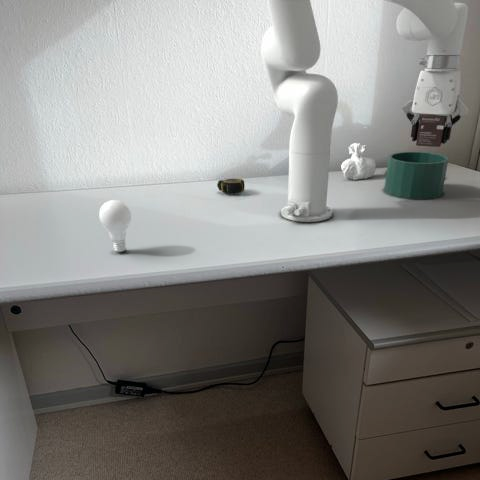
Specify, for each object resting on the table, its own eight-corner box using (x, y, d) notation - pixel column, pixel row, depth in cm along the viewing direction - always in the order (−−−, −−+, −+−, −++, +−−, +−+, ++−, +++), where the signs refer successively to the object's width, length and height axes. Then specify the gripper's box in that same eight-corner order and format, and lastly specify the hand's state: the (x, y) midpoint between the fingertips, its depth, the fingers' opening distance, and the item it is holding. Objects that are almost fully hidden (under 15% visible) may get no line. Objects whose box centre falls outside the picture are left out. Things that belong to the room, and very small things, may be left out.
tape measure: (238, 189, 147) (238, 176, 145) (248, 194, 141) (248, 181, 139) (217, 191, 144) (216, 178, 143) (226, 197, 139) (225, 184, 137)
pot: (434, 202, 131) (441, 166, 127) (376, 194, 139) (380, 159, 134) (448, 189, 143) (454, 154, 138) (393, 182, 150) (398, 149, 146)
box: (415, 146, 127) (419, 115, 123) (417, 142, 132) (422, 112, 128) (440, 147, 125) (445, 116, 121) (442, 143, 130) (447, 113, 126)
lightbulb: (137, 246, 107) (131, 195, 102) (133, 257, 102) (126, 204, 96) (108, 246, 107) (100, 196, 102) (102, 258, 102) (93, 205, 96)
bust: (371, 182, 159) (362, 150, 160) (384, 171, 152) (374, 137, 153) (338, 186, 156) (330, 153, 157) (349, 175, 148) (340, 140, 150)
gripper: (401, 64, 121) (391, 141, 129) (477, 64, 112) (461, 147, 121) (410, 63, 126) (400, 136, 135) (483, 63, 118) (467, 142, 126)
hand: (429, 141), depth 128 cm, fingers closed on box, 6 cm apart
